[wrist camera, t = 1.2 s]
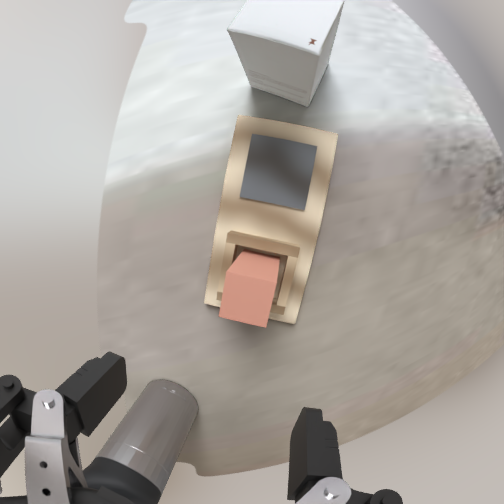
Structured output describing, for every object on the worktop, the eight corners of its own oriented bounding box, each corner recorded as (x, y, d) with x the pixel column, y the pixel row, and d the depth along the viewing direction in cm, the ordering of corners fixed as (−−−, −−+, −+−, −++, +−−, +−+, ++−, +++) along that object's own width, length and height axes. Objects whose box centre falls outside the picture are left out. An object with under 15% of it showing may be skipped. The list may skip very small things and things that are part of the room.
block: (272, 290, 31) (265, 327, 22) (237, 282, 31) (218, 316, 22) (279, 256, 30) (276, 282, 21) (244, 249, 30) (226, 271, 21)
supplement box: (330, 61, 25) (348, 0, 13) (307, 109, 27) (319, 57, 15) (272, 41, 25) (263, -24, 13) (247, 86, 27) (224, 29, 15)
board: (294, 320, 32) (295, 332, 29) (206, 300, 33) (199, 309, 30) (336, 136, 27) (341, 129, 24) (239, 117, 28) (234, 109, 25)
